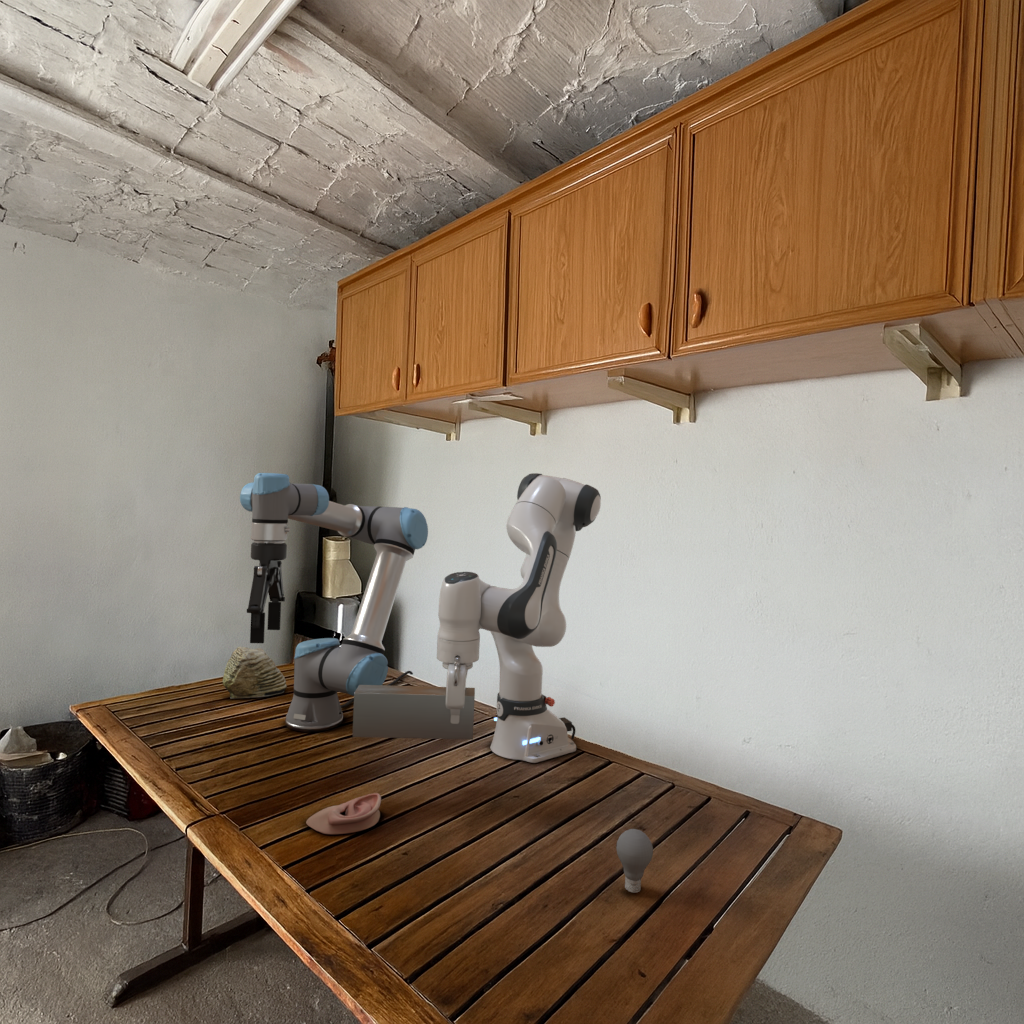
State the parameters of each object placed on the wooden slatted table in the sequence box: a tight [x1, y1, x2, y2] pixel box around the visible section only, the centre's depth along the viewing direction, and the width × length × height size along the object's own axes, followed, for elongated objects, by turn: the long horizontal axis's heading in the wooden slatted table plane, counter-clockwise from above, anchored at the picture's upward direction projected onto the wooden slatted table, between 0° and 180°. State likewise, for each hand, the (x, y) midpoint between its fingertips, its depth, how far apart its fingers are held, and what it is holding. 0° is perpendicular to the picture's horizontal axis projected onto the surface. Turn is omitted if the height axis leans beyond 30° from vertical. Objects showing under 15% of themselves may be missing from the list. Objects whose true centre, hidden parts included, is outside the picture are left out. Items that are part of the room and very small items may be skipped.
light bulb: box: [615, 828, 654, 894], centre depth 106 cm, size 6×6×10 cm
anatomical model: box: [305, 792, 382, 835], centre depth 124 cm, size 13×4×12 cm
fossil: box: [222, 646, 288, 699], centre depth 198 cm, size 9×18×15 cm, turn 132°
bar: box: [351, 684, 476, 741], centre depth 132 cm, size 24×6×9 cm, turn 93°
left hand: (265, 636), depth 142 cm, fingers open, 13 cm apart
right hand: (455, 716), depth 132 cm, fingers closed on bar, 6 cm apart
